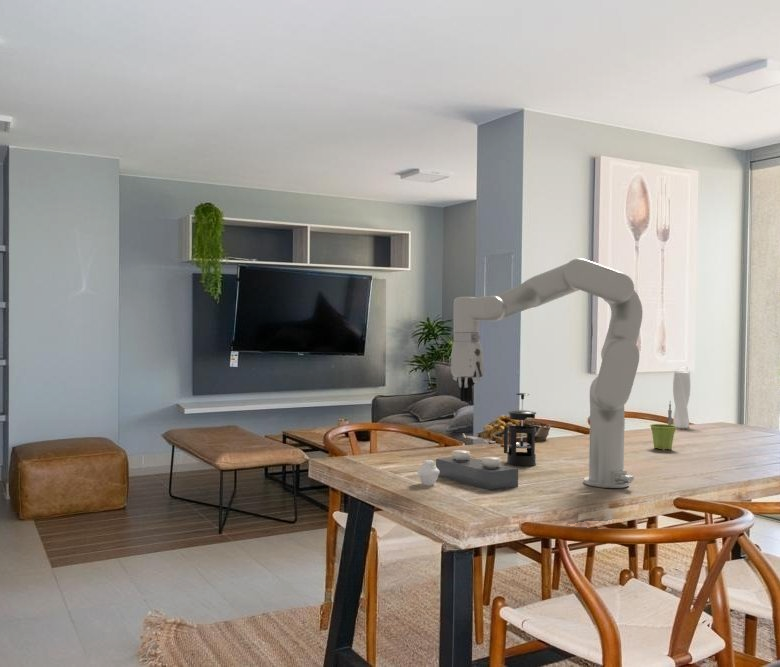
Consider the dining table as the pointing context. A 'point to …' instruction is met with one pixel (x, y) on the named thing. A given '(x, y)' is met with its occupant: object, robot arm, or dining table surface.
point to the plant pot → (663, 435)
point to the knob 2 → (491, 462)
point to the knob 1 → (461, 455)
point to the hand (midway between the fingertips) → (466, 400)
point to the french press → (521, 457)
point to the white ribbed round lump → (428, 473)
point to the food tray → (497, 431)
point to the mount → (477, 473)
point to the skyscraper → (680, 399)
